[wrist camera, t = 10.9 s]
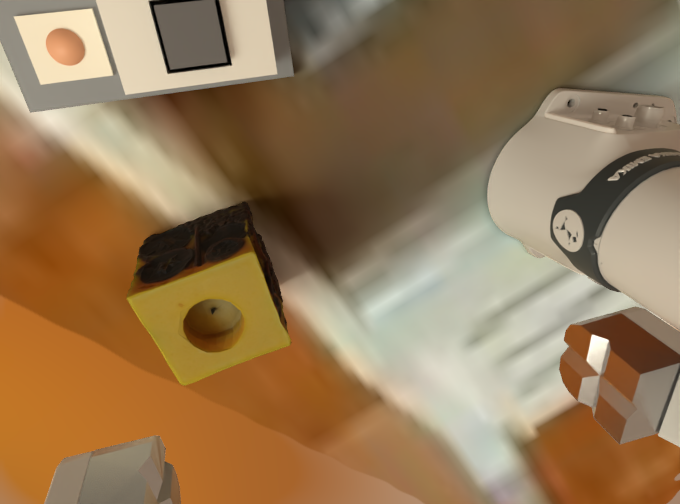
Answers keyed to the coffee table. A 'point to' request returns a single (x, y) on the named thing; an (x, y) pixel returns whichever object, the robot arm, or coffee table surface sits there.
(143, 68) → the switch unit
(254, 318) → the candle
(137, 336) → the coffee table surface
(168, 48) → the switch
